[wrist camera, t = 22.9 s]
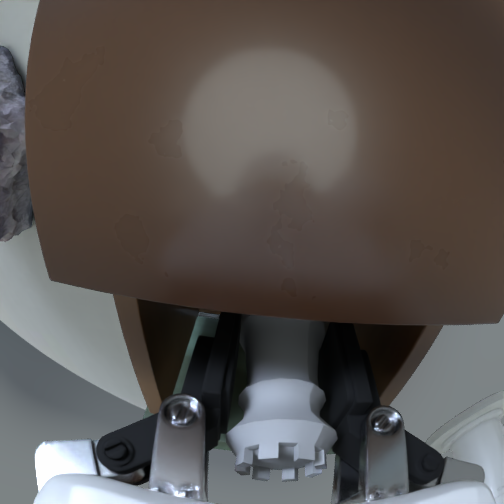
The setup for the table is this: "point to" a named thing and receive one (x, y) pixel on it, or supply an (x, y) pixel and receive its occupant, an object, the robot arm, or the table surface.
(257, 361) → the rook chess piece
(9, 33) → the table surface
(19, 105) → the geode
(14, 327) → the table surface
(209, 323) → the drawer
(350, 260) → the cabinet
